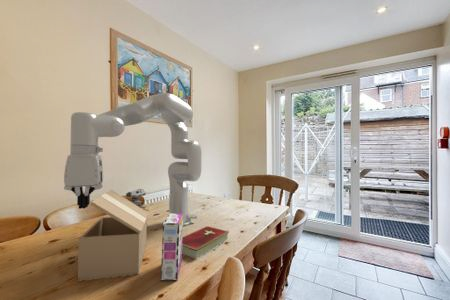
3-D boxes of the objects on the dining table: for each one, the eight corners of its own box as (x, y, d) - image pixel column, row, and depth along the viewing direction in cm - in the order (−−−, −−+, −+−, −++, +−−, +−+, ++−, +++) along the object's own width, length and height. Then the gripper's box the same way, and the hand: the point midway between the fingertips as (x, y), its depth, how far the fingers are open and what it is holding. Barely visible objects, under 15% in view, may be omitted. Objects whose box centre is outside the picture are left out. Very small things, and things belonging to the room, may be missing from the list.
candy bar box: (178, 281, 61) (179, 223, 61) (160, 281, 61) (161, 223, 61) (182, 261, 72) (183, 212, 73) (167, 261, 72) (168, 212, 72)
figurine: (149, 216, 122) (150, 189, 122) (130, 221, 113) (130, 192, 113) (140, 213, 128) (141, 187, 128) (121, 217, 118) (122, 190, 118)
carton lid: (147, 214, 84) (148, 212, 84) (139, 233, 64) (141, 231, 65) (109, 191, 81) (111, 189, 81) (90, 204, 61) (92, 201, 61)
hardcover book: (171, 252, 80) (171, 240, 80) (206, 234, 98) (206, 225, 98) (196, 261, 73) (196, 249, 74) (228, 240, 91) (229, 230, 91)
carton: (146, 245, 84) (146, 214, 84) (138, 274, 64) (139, 234, 64) (100, 249, 80) (101, 217, 80) (77, 281, 60) (78, 238, 61)
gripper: (112, 151, 75) (111, 203, 75) (63, 150, 72) (62, 205, 72) (106, 151, 68) (105, 209, 68) (51, 150, 65) (50, 211, 64)
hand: (83, 207), depth 70 cm, fingers closed
